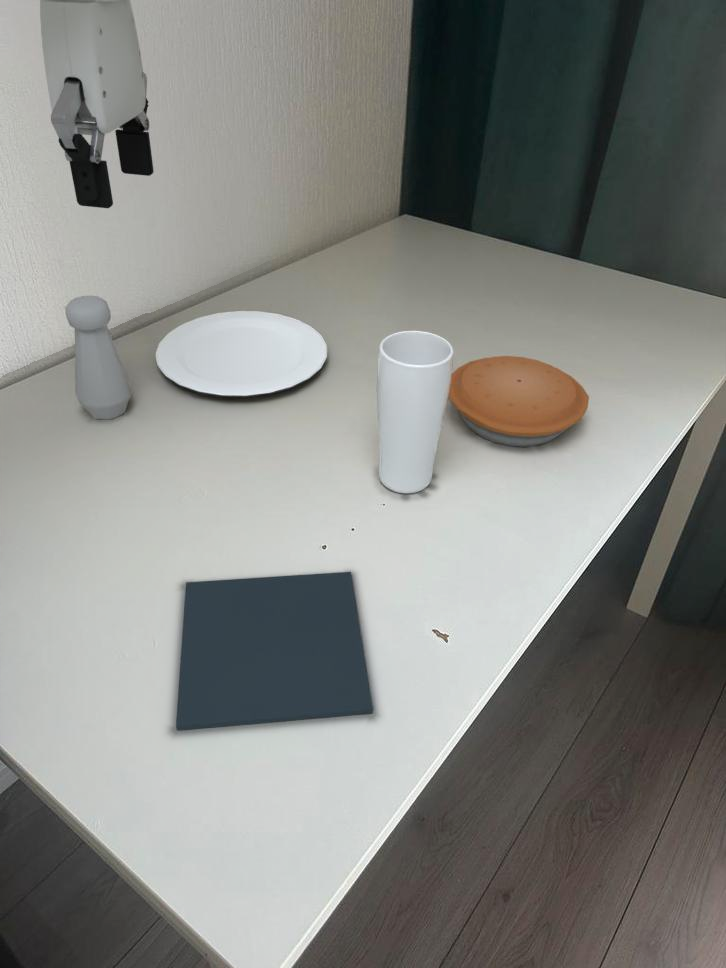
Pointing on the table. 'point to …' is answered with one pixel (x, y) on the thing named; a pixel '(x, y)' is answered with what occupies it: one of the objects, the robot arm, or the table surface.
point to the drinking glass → (411, 406)
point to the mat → (271, 651)
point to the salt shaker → (97, 359)
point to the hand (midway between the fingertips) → (117, 189)
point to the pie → (516, 399)
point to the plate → (241, 354)
